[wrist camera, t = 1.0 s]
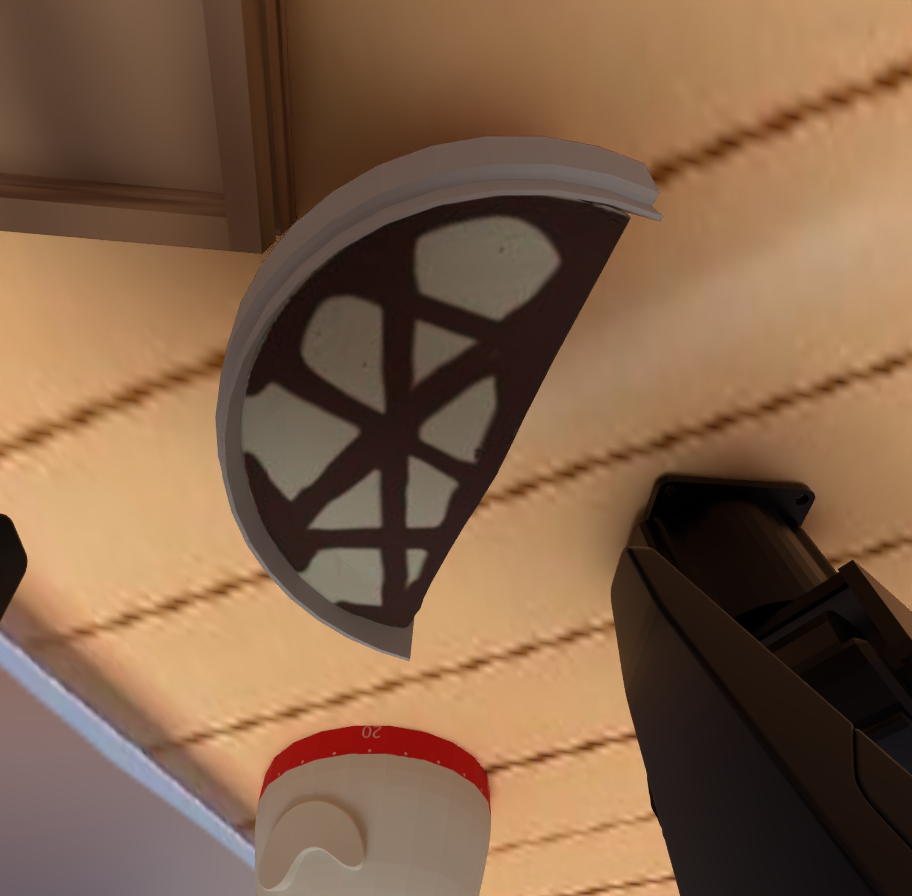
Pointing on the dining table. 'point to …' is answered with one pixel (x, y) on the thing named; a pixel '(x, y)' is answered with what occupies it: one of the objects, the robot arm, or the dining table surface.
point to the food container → (406, 362)
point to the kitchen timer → (372, 817)
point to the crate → (147, 121)
